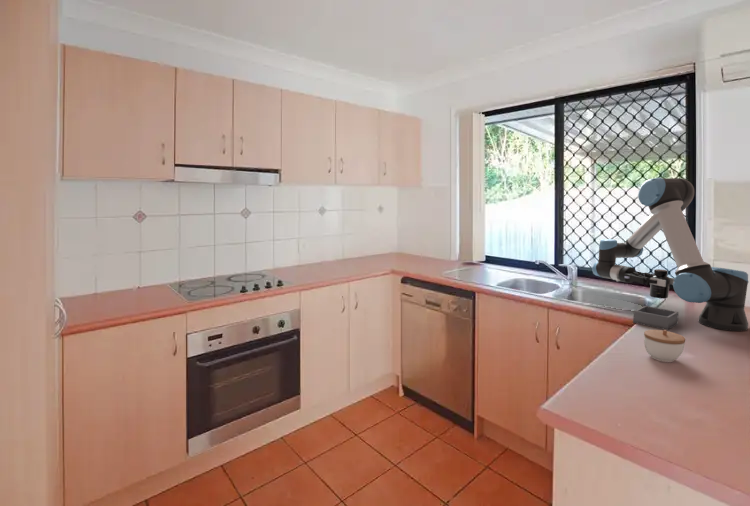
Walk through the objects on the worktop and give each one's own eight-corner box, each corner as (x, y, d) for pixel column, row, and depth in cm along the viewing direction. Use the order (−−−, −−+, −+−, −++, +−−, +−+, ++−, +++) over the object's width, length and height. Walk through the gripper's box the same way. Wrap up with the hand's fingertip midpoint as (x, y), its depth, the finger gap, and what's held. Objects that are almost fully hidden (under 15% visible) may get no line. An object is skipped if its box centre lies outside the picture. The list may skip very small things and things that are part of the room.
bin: (677, 323, 165) (678, 312, 165) (667, 329, 158) (668, 317, 157) (643, 317, 175) (644, 305, 174) (633, 322, 167) (634, 310, 167)
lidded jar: (642, 360, 129) (645, 332, 128) (641, 349, 138) (644, 323, 137) (684, 367, 123) (688, 338, 122) (680, 356, 132) (684, 328, 131)
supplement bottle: (650, 294, 184) (652, 268, 183) (668, 296, 180) (671, 270, 178) (648, 297, 179) (651, 270, 177) (667, 299, 175) (670, 272, 173)
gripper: (637, 280, 199) (686, 289, 177) (607, 282, 193) (654, 293, 171) (639, 264, 198) (688, 272, 176) (608, 267, 192) (655, 275, 170)
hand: (671, 283), depth 174 cm, fingers closed on supplement bottle, 7 cm apart
